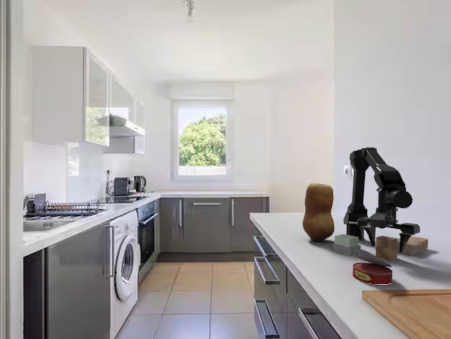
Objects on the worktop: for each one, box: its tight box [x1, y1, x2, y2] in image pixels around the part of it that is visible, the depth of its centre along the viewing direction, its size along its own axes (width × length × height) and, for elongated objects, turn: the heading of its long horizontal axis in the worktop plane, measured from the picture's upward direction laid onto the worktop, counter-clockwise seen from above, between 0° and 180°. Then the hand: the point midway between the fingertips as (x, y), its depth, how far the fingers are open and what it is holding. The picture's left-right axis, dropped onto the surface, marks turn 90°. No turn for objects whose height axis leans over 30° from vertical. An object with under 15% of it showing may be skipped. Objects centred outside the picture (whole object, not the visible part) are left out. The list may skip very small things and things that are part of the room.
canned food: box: [352, 248, 393, 285], centre depth 79 cm, size 11×10×10 cm
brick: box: [397, 235, 429, 257], centre depth 110 cm, size 17×8×5 cm, turn 129°
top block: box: [334, 233, 360, 247], centre depth 106 cm, size 6×6×3 cm
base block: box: [332, 242, 362, 256], centre depth 106 cm, size 7×7×3 cm
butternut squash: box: [301, 182, 335, 242], centre depth 123 cm, size 14×13×25 cm
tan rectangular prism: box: [375, 235, 398, 261], centre depth 99 cm, size 5×5×7 cm
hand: (386, 249), depth 99 cm, fingers open, 9 cm apart
